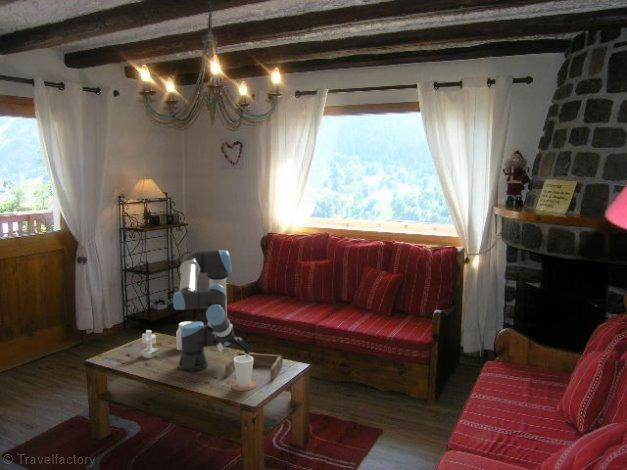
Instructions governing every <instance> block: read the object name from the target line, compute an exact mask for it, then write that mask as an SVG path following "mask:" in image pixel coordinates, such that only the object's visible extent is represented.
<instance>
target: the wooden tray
mask: <svg viewBox="0 0 627 470" xmlns="http://www.w3.org/2000/svg"><path fill="white" fill-rule="evenodd" d="M241 355H245V354H244V352H242V351H240V352H236V353H235V354H234V355H233V356H232V357H231V358H230V360H229V361H228V362H227V363H226V364H225V376H226V377H230V376H231V375H232V374H233V372H234V371H235V366H234V358H235V357H237V356H241ZM249 356H251V357H253V366H261V367H270V380H271V381H275V379H276V378H277V375H278V374H279V372H280V370H281V369H282V368H283V355H280V354H270V353H269V354H267V353H266V354H265V353H254V352H253V353H252V352H250V355H249Z"/></svg>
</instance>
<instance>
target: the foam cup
mask: <svg viewBox="0 0 627 470" xmlns="http://www.w3.org/2000/svg"><path fill="white" fill-rule="evenodd" d="M234 366H235V370H234V371H235V378H236V381H237V385H238V386H239V387H248V386H250V384H251V380H252V376H253V369H254V368H253V366H254V365H253V357H251V356H249V357H248V358H246V356H245V355H241V356H237V357H235V358H234Z"/></svg>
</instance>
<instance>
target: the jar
mask: <svg viewBox="0 0 627 470" xmlns="http://www.w3.org/2000/svg"><path fill="white" fill-rule="evenodd" d="M191 322H192V321H181V322H180V323H178V328H177V330H176V332H175V334H176V351H177V350H178V351H182V343H181V329H182V327H183V326H184V325H186V324H188V323H191Z"/></svg>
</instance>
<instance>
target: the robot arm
mask: <svg viewBox="0 0 627 470" xmlns="http://www.w3.org/2000/svg"><path fill="white" fill-rule="evenodd" d="M232 270H233V269H232V261H231V255H230V253H229V250H226V249H223V250H221V249H219V250H215V249H214V250H196V251H193V252H191V253H189V254H188V255H186V256H185V257H184V258H183V259H182V261H181V263H180V266H179V271H180V284H179V291H176V292H174V293H173V295H172V303H173V304H172V306H173V308H174V310H182V311H185V310H196V309H200V310H201V309H207V310H206V312H205V316H206V320H207V324H204V322H203V321H190V322H191V323H188V324H186V325H184V326H183V327H182V329H181V343H182V350H181V355H180V358H179V362H178V369H179V370H180V371H182V372H186V373H187V372H188V373H191V372H193V373H194V372H199V371H203V370H205V369H206V368H208V366H209V361H208V358H207V355H206V352H205V348H208V347H209V348H211V347H212V348H213V347H215V348H216V349H217V350H218V352H219V353H220V354H222V352H223V351H224V346H225V347H226V346H229V345H233V346H236V348H237V347H238V348H239V349H241V350H243V352H242V353H244V354H245V356H246V358H248V357H249V355H250V353H252V350H253V349H252V348H253V346H252V345H251V344H250V343H248V341H246V340H245V339H244V338H243V336H241V335H239V336H236V335H235V334H234V333H235V331H234V328H233V327H234V326H233V323H231V321H230V319H229V318H228V311H227V310H228V309H227V307H228V306H227V299H228V298H227V279H228V278H229V277H230V274H231V273H232V272H233V271H232ZM199 275H205V277H206V279H208V283H209V287H208V288H207V289H208V290H198V276H199Z"/></svg>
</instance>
